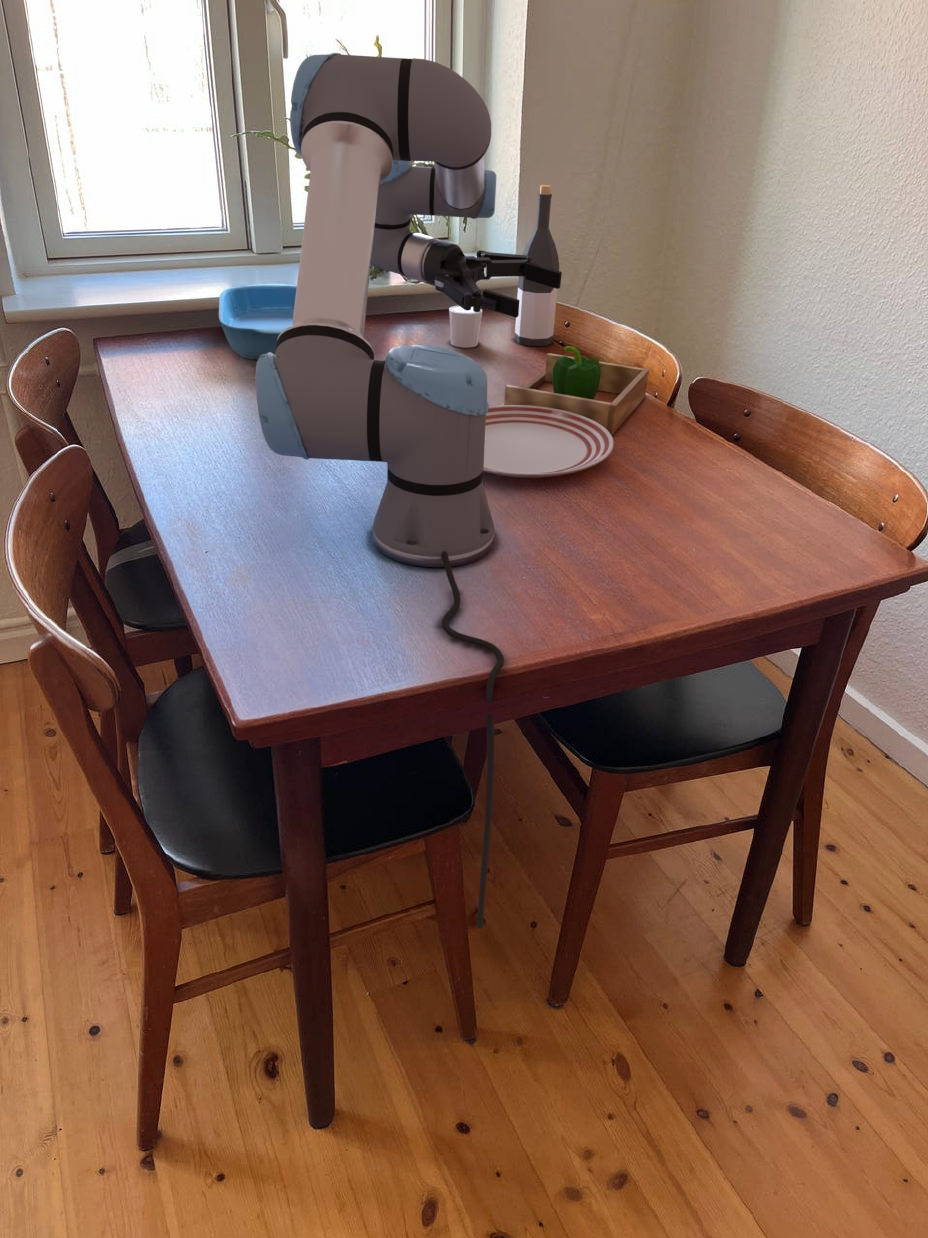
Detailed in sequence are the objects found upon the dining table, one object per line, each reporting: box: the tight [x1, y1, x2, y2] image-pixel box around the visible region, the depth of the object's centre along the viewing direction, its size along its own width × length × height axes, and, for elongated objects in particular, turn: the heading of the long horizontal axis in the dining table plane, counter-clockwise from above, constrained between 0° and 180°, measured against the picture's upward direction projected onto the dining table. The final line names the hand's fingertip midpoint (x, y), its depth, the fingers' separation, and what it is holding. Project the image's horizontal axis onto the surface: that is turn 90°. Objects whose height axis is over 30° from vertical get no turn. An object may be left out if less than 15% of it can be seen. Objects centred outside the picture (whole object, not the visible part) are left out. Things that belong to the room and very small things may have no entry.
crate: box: [501, 352, 650, 436], centre depth 162 cm, size 20×22×5 cm
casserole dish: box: [218, 283, 297, 360], centre depth 188 cm, size 37×22×7 cm, turn 13°
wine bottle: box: [514, 184, 560, 347], centre depth 189 cm, size 8×8×30 cm
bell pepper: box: [551, 345, 601, 400], centre depth 161 cm, size 8×8×10 cm
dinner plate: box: [483, 404, 615, 479], centre depth 142 cm, size 27×27×3 cm
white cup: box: [448, 305, 483, 349], centre depth 191 cm, size 7×7×7 cm
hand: (539, 294), depth 153 cm, fingers open, 13 cm apart
